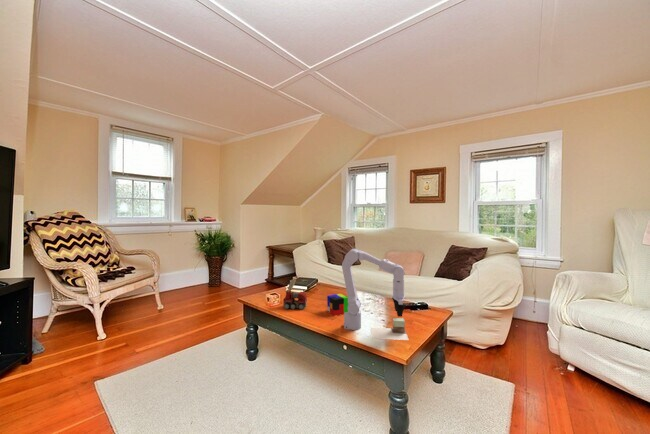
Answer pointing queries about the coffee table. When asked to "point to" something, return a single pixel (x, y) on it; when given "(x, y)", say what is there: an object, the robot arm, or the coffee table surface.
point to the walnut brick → (399, 329)
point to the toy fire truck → (290, 298)
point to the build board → (388, 334)
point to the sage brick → (398, 322)
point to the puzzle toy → (337, 304)
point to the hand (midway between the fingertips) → (398, 313)
